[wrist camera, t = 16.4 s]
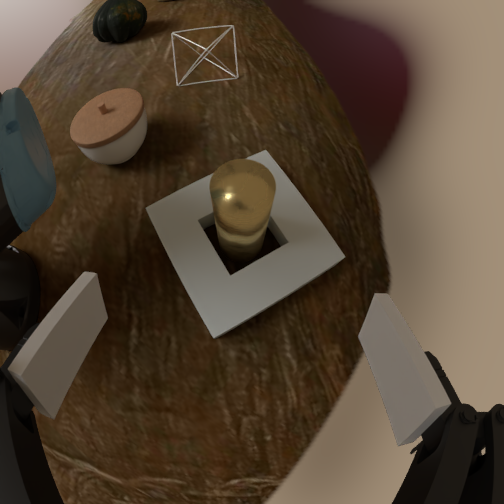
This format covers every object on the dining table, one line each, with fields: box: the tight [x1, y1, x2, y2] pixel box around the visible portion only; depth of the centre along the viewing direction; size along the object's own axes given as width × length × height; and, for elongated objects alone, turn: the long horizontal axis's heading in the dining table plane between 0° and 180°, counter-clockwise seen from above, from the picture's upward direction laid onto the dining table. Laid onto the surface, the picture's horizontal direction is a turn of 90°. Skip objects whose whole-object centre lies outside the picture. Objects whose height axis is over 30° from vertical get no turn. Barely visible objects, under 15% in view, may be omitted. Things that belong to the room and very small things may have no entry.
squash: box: [93, 0, 147, 42], centre depth 43 cm, size 14×15×15 cm
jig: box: [146, 150, 345, 339], centre depth 30 cm, size 16×16×3 cm
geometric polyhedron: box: [171, 25, 238, 86], centre depth 38 cm, size 12×11×9 cm
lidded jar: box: [70, 88, 147, 165], centre depth 31 cm, size 11×11×9 cm
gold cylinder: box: [209, 159, 276, 263], centre depth 26 cm, size 5×5×12 cm
